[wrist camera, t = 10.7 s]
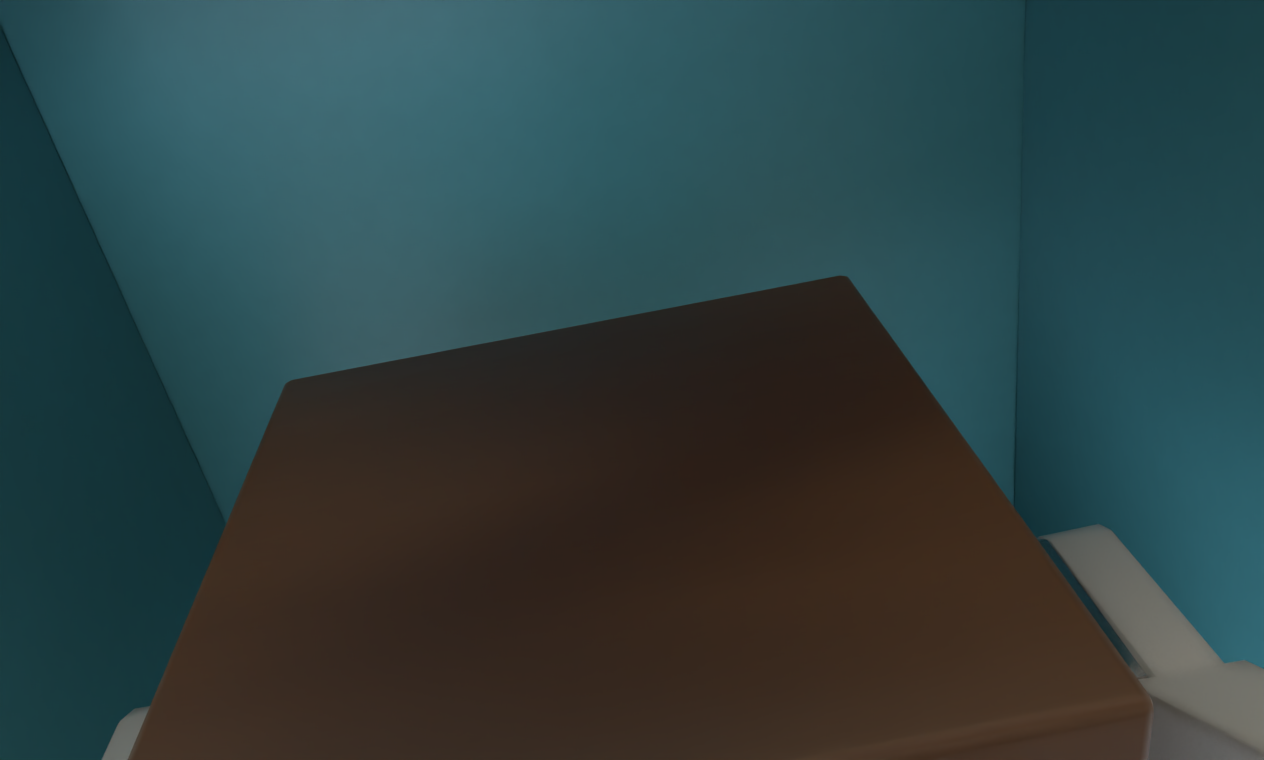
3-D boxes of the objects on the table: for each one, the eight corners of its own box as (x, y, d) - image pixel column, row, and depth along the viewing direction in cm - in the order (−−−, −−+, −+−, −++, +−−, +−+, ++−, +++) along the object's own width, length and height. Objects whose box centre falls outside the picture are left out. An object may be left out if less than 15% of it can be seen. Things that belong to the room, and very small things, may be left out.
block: (847, 270, 9) (1164, 702, 5) (874, 681, 11) (1097, 1219, 7) (283, 377, 9) (54, 916, 5) (431, 765, 11) (376, 1358, 7)
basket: (1075, -370, 12) (1724, -596, 6) (1039, 565, 19) (1307, 954, 13) (-120, -143, 12) (-880, -98, 6) (283, 710, 19) (157, 1174, 13)
